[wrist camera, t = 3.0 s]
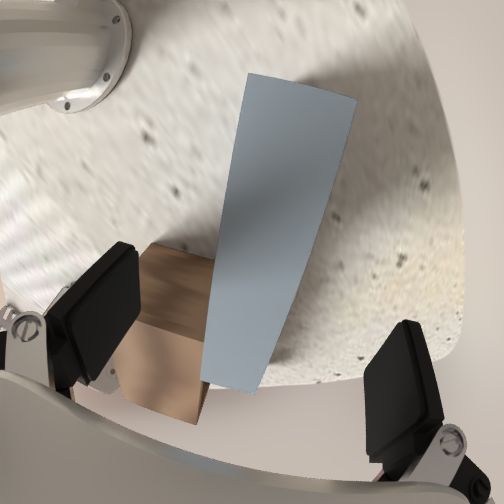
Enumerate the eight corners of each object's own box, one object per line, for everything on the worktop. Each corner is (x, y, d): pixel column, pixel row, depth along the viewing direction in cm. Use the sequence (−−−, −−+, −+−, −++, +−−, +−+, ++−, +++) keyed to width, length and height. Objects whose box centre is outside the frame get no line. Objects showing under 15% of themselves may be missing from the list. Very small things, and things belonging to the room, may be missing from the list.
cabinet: (154, 341, 38) (124, 399, 29) (151, 243, 29) (99, 305, 21) (256, 371, 37) (242, 437, 28) (290, 280, 28) (279, 362, 20)
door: (249, 241, 27) (199, 379, 14) (284, 85, 19) (248, 72, 7) (294, 253, 27) (276, 399, 14) (338, 100, 19) (397, 114, 7)
